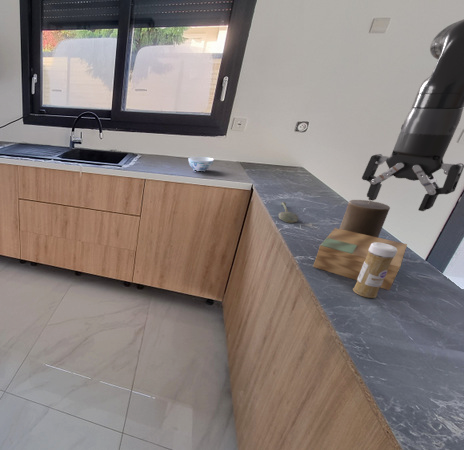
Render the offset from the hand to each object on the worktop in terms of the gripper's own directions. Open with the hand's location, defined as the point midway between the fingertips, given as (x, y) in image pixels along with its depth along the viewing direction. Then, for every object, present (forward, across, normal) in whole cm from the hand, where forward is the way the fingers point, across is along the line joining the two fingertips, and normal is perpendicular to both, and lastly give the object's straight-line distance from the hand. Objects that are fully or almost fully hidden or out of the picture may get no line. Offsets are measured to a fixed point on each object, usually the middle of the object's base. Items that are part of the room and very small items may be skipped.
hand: (395, 204), depth 70 cm
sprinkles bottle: (+23, -1, +1) cm, 23 cm away
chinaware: (+23, +112, -69) cm, 134 cm away
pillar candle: (+23, +14, -30) cm, 41 cm away
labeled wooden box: (+23, +6, -12) cm, 27 cm away
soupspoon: (+23, +41, -38) cm, 60 cm away
